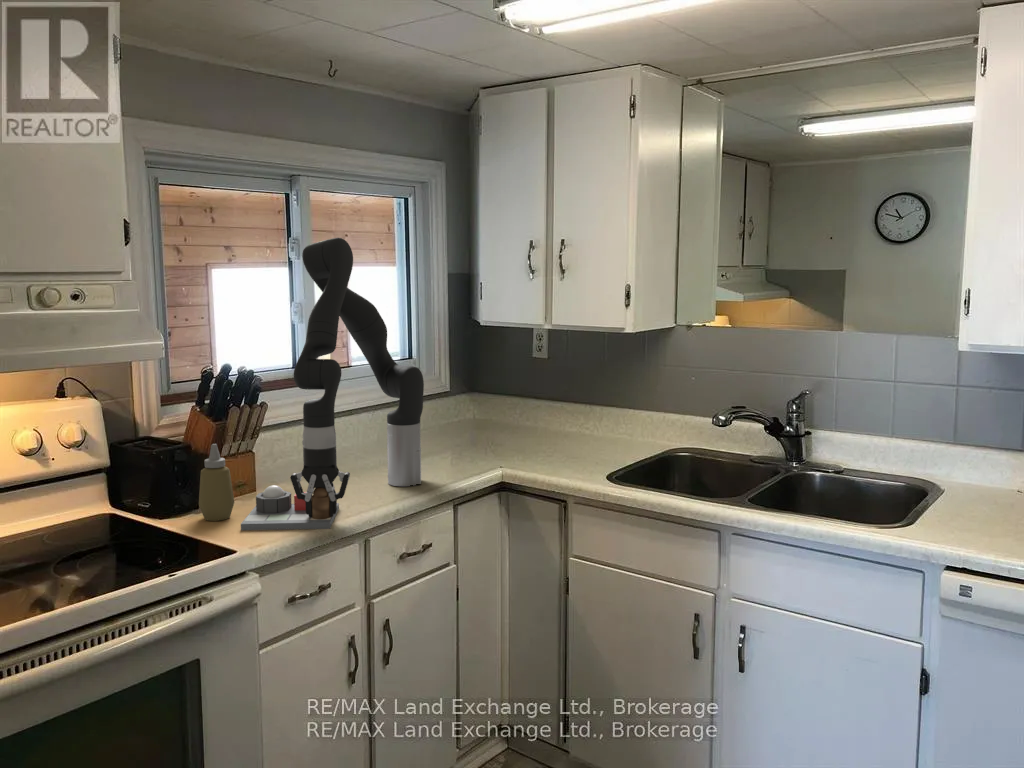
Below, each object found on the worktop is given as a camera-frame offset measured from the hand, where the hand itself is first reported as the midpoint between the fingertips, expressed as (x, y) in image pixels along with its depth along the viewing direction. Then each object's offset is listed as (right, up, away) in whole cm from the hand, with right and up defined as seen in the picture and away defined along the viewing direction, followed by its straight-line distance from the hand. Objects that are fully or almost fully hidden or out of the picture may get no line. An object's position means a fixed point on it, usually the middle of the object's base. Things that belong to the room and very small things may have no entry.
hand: (321, 515), depth 191 cm
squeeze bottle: (-26, -1, +4) cm, 26 cm away
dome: (-13, +1, +6) cm, 15 cm away
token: (0, 0, 0) cm, 0 cm away
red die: (-6, +1, +7) cm, 9 cm away
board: (-8, -1, +3) cm, 8 cm away
